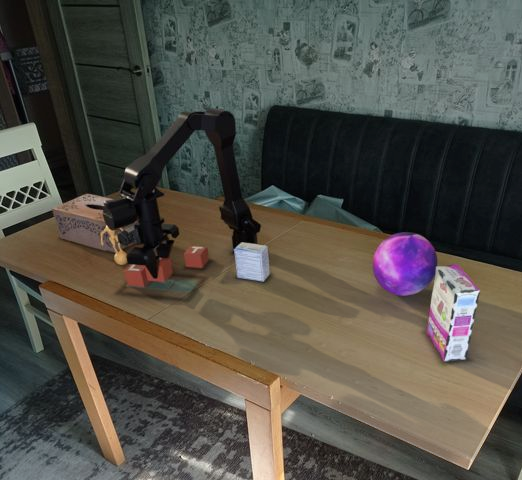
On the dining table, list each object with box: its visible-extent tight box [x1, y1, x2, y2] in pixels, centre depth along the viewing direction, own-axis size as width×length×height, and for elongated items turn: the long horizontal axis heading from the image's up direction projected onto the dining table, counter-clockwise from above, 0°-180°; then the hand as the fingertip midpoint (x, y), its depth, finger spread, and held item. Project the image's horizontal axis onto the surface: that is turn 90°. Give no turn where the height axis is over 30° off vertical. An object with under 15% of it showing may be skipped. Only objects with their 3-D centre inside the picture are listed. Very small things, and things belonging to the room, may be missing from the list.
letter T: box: [183, 245, 210, 269], centre depth 150 cm, size 5×5×5 cm
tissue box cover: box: [51, 193, 137, 254], centre depth 169 cm, size 26×14×10 cm, turn 56°
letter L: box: [123, 264, 149, 287], centre depth 143 cm, size 5×5×5 cm
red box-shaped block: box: [145, 257, 173, 282], centre depth 140 cm, size 5×5×5 cm
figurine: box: [101, 226, 128, 266], centre depth 152 cm, size 8×6×12 cm
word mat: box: [125, 278, 199, 294], centre depth 143 cm, size 20×12×1 cm, turn 73°
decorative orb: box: [372, 231, 439, 297], centre depth 128 cm, size 15×15×15 cm
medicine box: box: [233, 242, 271, 283], centre depth 141 cm, size 8×4×9 cm, turn 65°
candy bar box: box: [426, 264, 481, 362], centre depth 108 cm, size 11×5×16 cm, turn 5°
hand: (159, 273), depth 141 cm, fingers closed on red box-shaped block, 5 cm apart
